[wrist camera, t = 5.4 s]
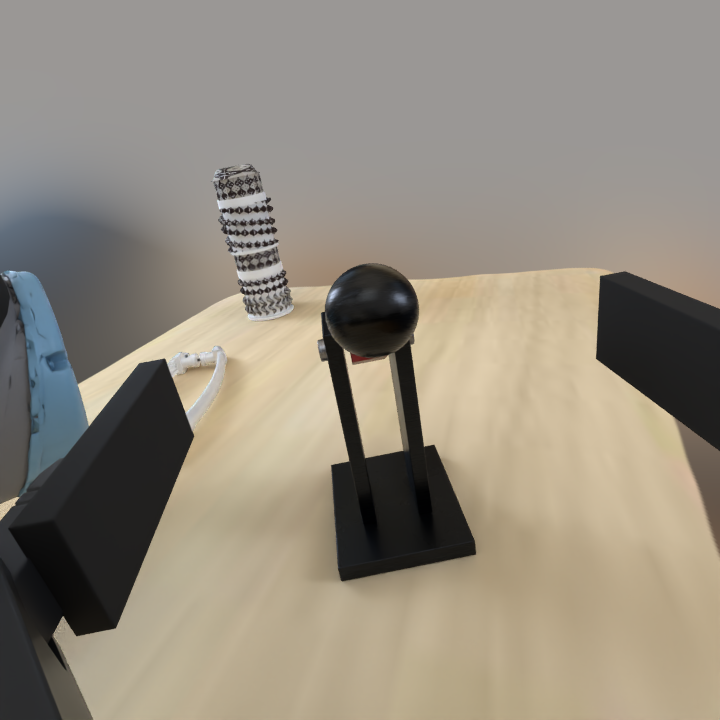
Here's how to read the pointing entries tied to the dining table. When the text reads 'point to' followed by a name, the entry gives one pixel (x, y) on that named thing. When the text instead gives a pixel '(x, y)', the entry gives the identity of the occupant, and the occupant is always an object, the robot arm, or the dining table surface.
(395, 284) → the lever
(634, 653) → the dining table surface
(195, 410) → the door handle
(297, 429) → the dining table surface
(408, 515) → the bracket
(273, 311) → the decorative candle
